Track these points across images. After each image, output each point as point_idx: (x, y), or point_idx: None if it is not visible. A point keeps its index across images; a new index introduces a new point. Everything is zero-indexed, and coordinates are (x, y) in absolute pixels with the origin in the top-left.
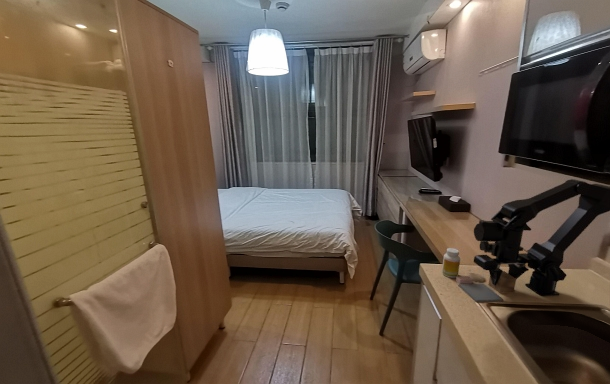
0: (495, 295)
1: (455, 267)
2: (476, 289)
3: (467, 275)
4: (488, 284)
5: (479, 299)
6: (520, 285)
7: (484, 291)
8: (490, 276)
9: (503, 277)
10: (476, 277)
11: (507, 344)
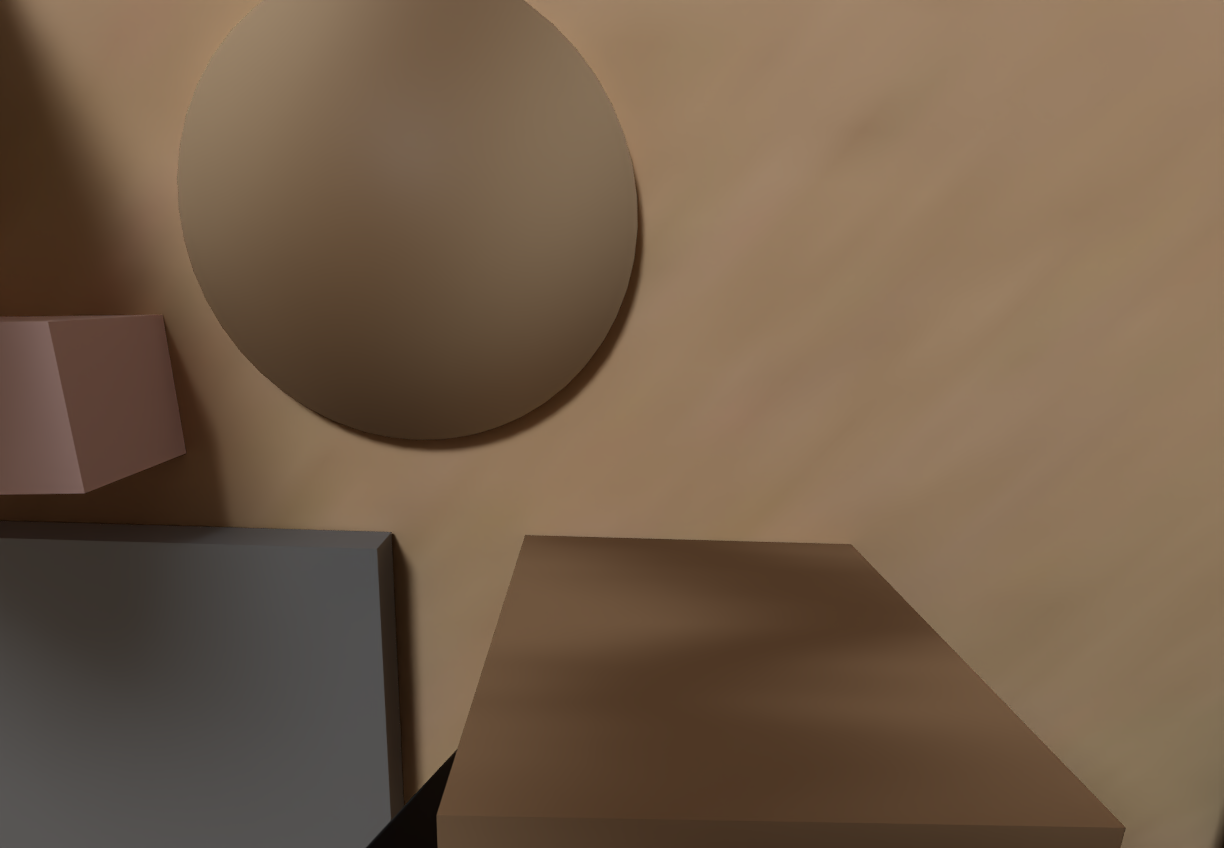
0: None
1: None
2: (59, 750)
3: (235, 95)
4: (526, 536)
5: None
6: (1196, 629)
7: (193, 823)
8: (485, 689)
9: None
10: (430, 230)
11: None
